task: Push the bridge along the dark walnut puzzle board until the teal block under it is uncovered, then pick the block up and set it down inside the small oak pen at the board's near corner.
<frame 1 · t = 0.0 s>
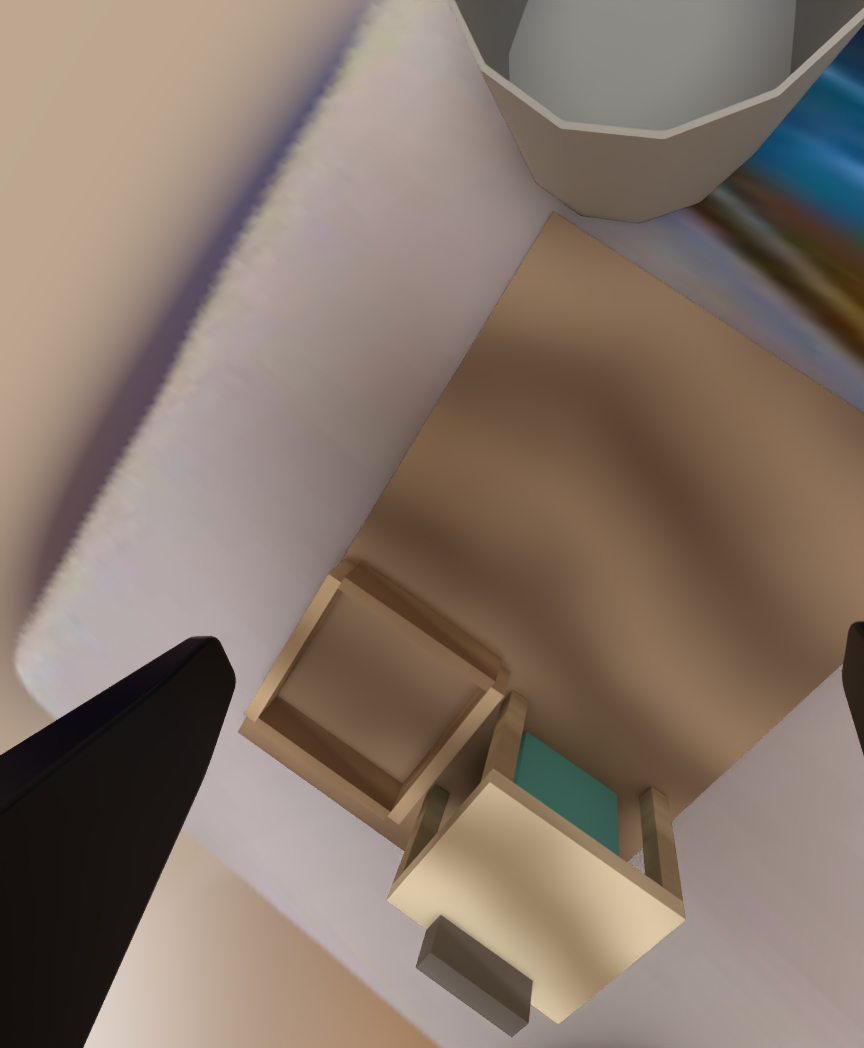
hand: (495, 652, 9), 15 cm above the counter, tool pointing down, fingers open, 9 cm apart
block: (540, 795, 27), point 1 cm above the counter, touching board
cup: (642, 75, 20), on the counter
bridge: (532, 862, 24), point 4 cm above the counter, slide at 0.0 cm
board: (544, 636, 26), on the counter
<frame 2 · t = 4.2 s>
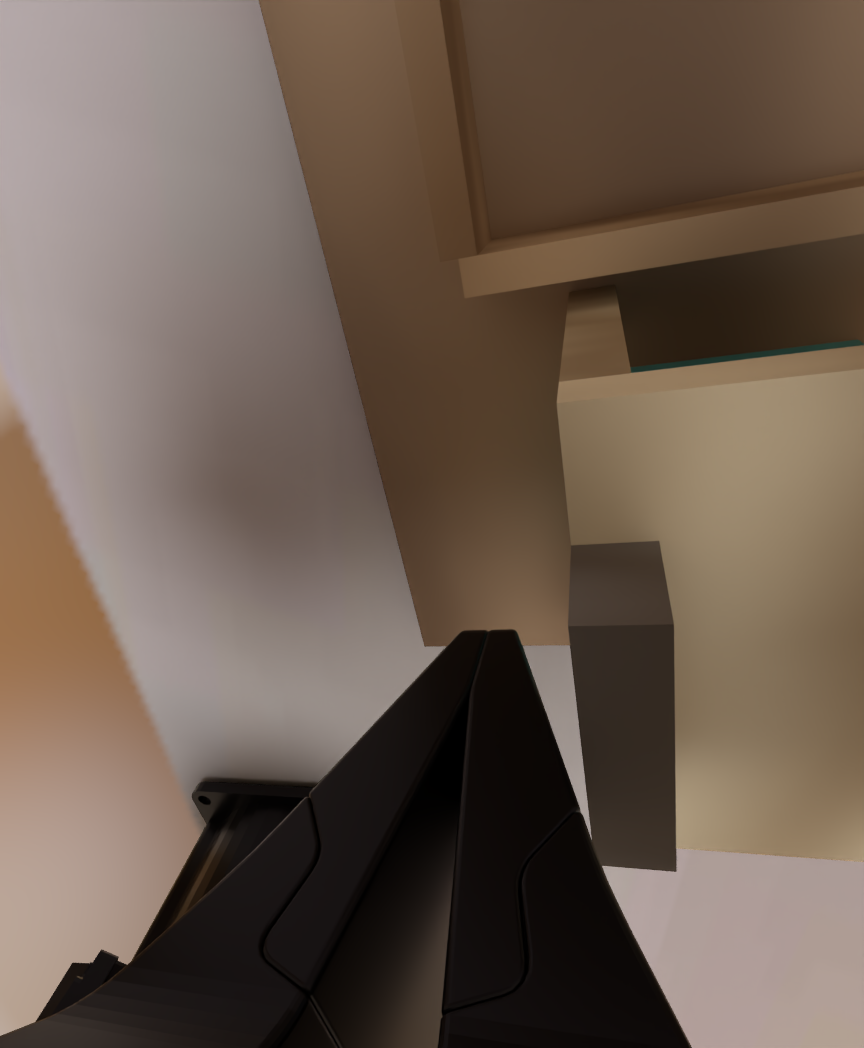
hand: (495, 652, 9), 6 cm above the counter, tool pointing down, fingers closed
block: (714, 467, 13), point 1 cm above the counter, touching board
bridge: (827, 569, 9), point 4 cm above the counter, slide at 1.0 cm, touching gripper
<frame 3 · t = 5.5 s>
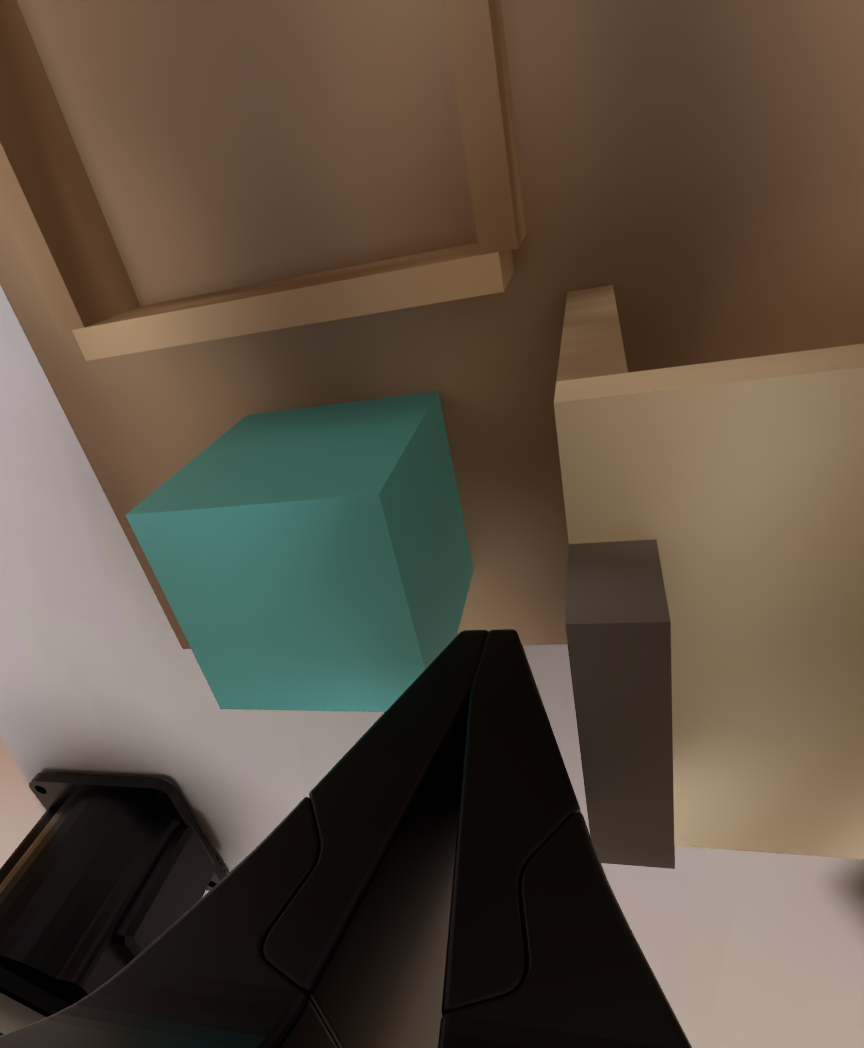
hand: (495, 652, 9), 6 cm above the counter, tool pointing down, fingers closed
block: (363, 495, 15), point 1 cm above the counter, touching board
bridge: (824, 568, 9), point 4 cm above the counter, slide at 8.5 cm, touching gripper
board: (622, 264, 12), on the counter
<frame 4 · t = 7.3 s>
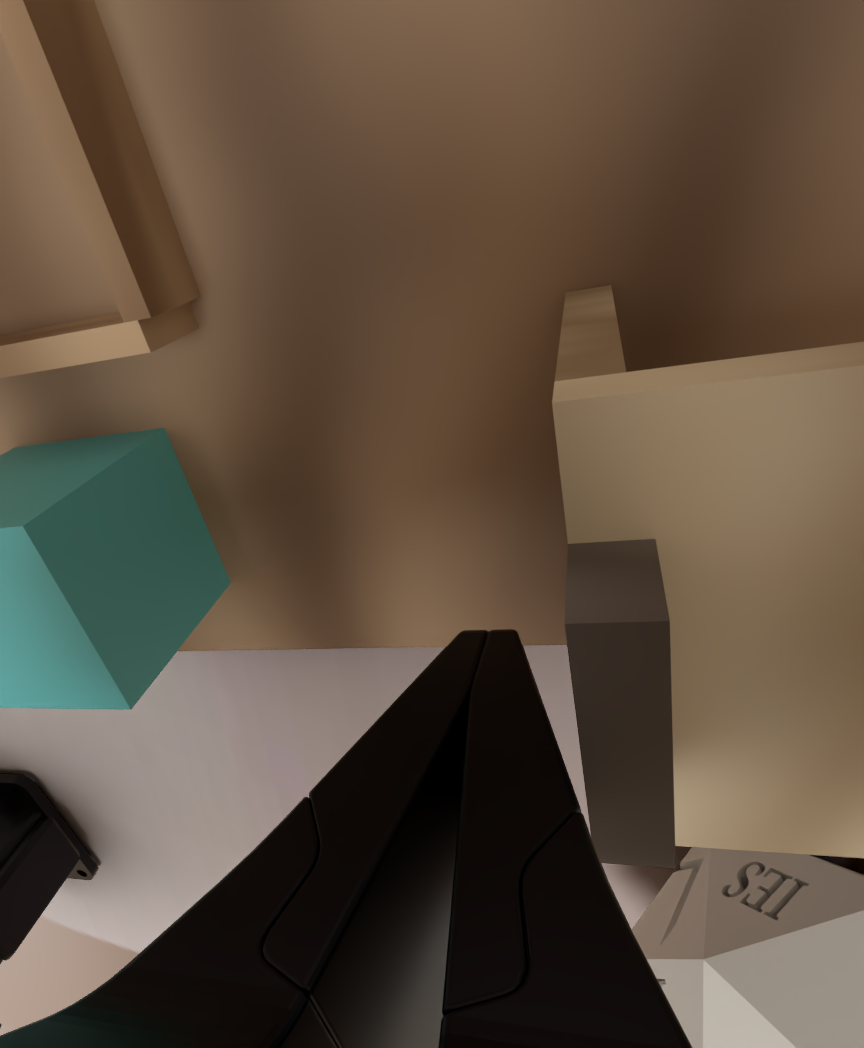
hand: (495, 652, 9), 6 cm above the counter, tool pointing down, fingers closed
block: (126, 517, 17), point 1 cm above the counter, touching board
bridge: (824, 567, 9), point 4 cm above the counter, slide at 15.2 cm, touching gripper
board: (295, 321, 14), on the counter
die: (763, 866, 20), on the counter
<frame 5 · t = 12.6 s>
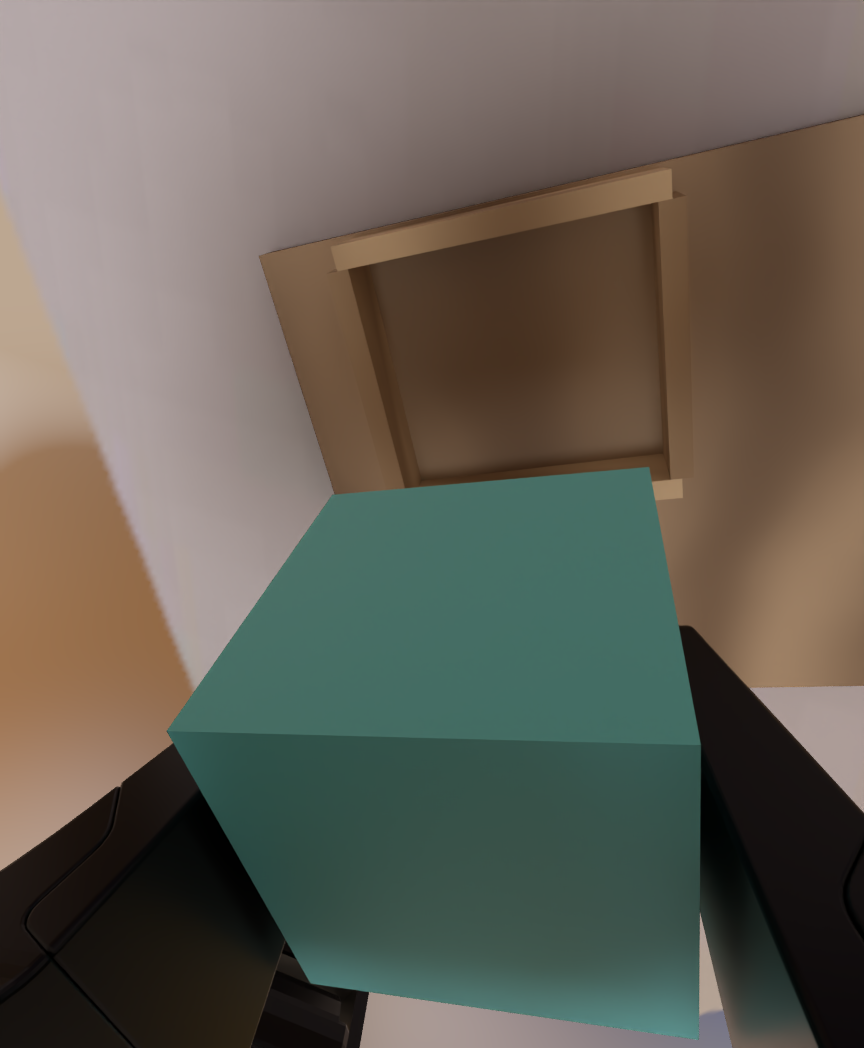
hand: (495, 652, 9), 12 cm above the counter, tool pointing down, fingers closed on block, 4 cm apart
block: (502, 609, 10), point 11 cm above the counter, touching gripper
board: (738, 463, 19), on the counter
when the fingers open (4 cm above the counter, at t = 14.4 s): block drops 2 cm, resting on board.
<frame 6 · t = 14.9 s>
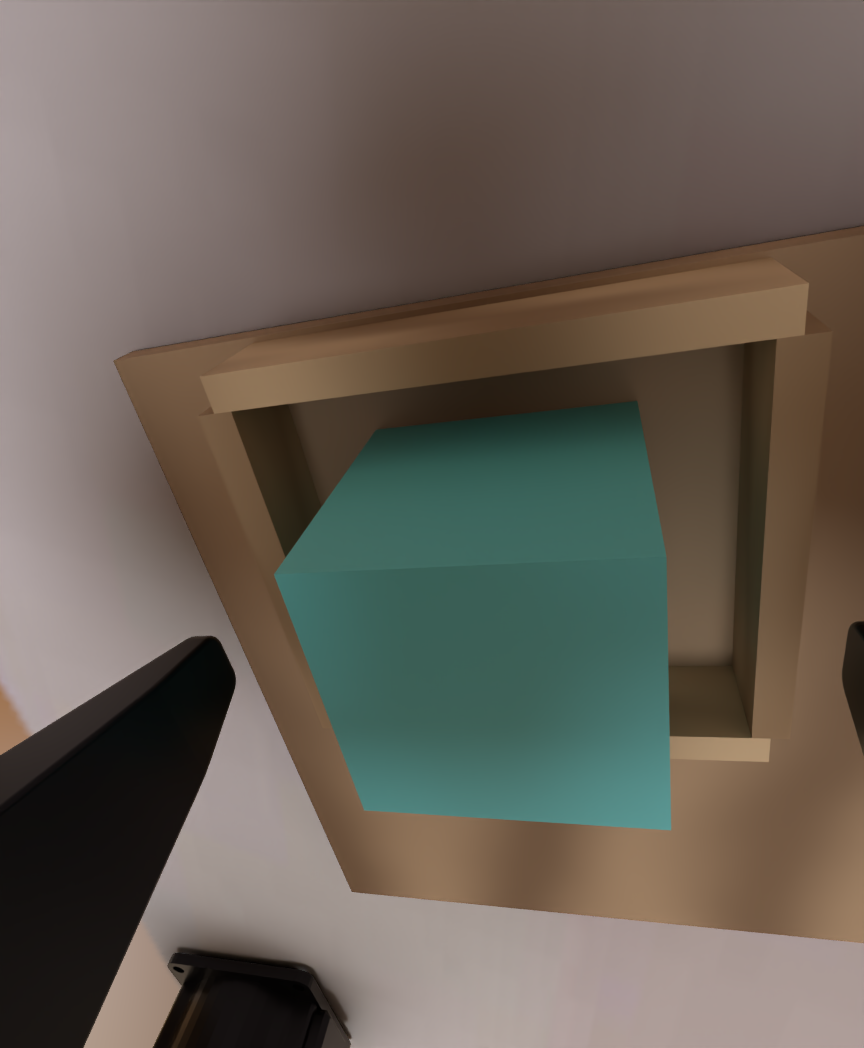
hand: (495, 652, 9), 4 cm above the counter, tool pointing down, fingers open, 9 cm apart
block: (516, 528, 12), point 1 cm above the counter, touching board
board: (843, 677, 13), on the counter
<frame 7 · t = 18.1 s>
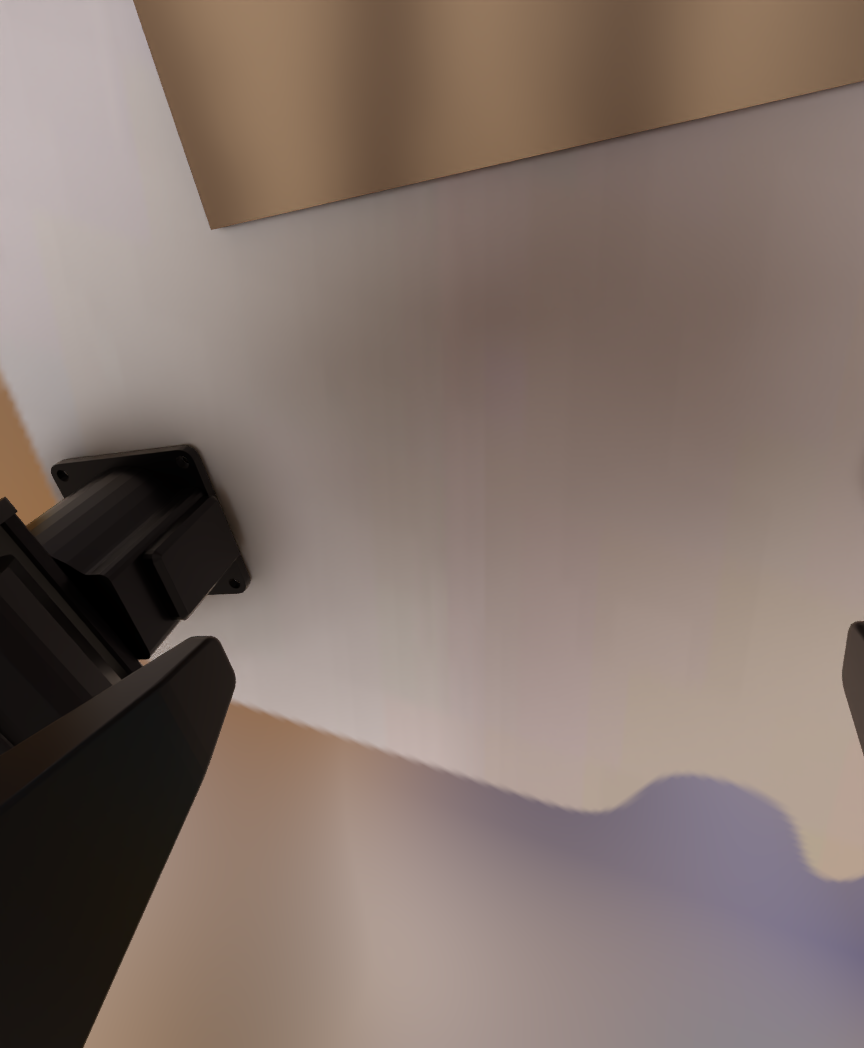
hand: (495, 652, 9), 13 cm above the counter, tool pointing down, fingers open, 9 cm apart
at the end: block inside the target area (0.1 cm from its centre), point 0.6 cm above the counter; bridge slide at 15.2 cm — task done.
